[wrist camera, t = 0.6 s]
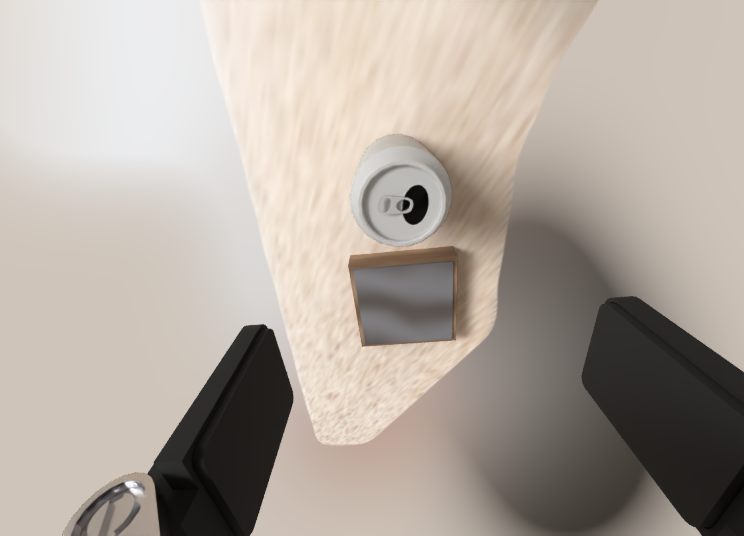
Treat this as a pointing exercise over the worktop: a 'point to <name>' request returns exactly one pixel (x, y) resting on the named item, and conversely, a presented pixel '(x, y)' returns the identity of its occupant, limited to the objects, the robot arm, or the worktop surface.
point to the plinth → (405, 295)
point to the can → (399, 192)
